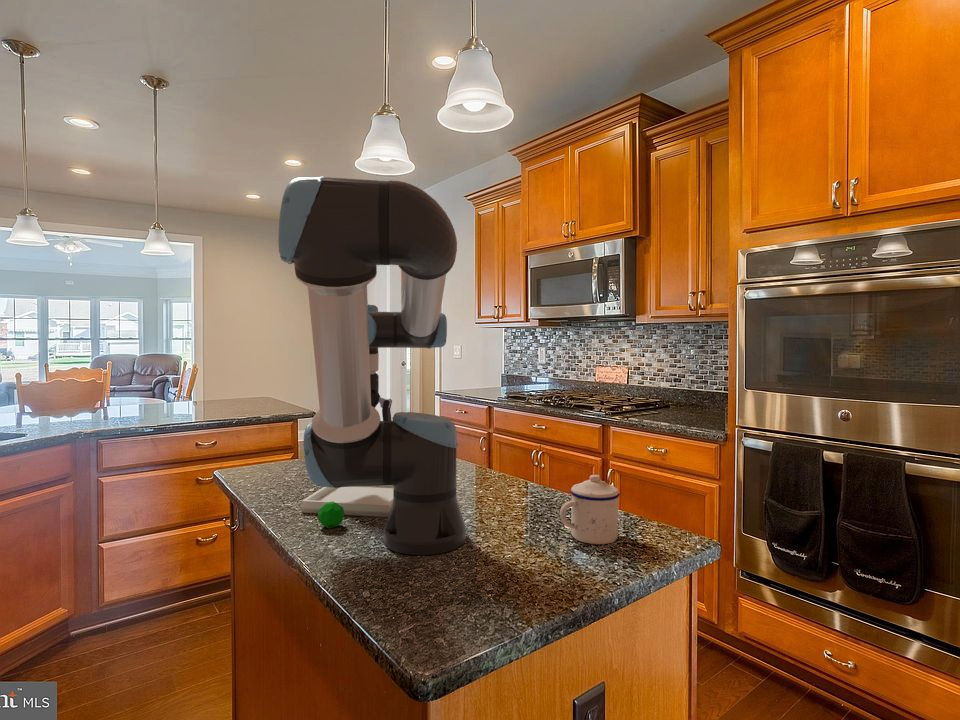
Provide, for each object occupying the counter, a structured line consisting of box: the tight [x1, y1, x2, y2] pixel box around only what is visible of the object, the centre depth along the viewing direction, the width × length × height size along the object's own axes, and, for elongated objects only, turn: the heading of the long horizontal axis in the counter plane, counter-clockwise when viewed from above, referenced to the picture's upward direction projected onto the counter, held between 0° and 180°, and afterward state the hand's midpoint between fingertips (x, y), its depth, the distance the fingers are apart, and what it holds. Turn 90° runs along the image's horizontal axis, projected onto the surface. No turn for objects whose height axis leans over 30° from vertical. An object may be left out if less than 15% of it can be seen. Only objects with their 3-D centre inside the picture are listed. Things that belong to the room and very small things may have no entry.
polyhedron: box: [317, 502, 345, 529], centre depth 106 cm, size 5×5×5 cm
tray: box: [301, 485, 393, 518], centre depth 123 cm, size 20×20×2 cm
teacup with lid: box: [559, 474, 620, 545], centre depth 101 cm, size 12×9×12 cm
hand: (361, 472), depth 123 cm, fingers closed on food container, 7 cm apart
